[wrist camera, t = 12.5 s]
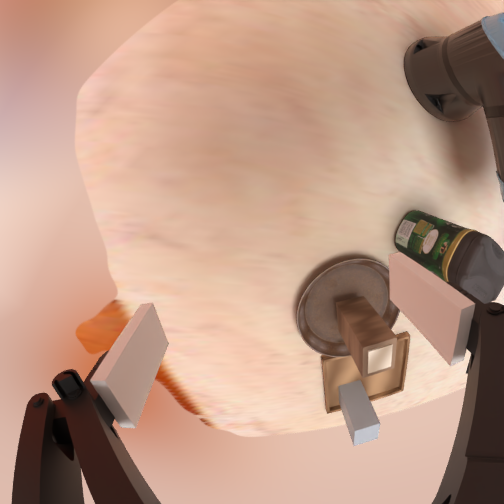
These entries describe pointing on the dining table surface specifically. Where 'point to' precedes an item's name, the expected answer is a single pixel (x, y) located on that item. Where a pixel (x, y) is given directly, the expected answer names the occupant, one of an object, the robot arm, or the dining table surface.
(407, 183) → the dining table surface
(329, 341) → the plant saucer
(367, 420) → the plain carton
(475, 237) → the coffee jar
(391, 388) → the parts tray
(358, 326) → the labelled carton
